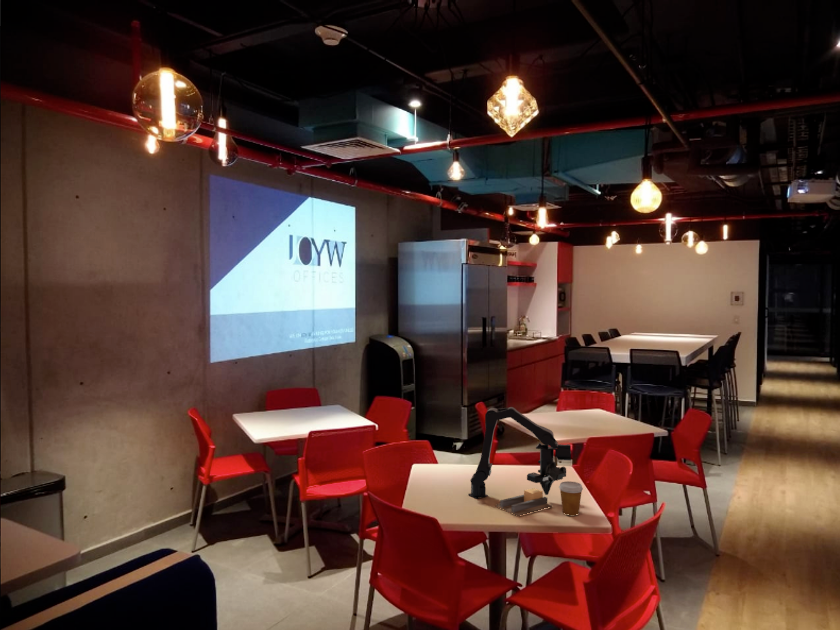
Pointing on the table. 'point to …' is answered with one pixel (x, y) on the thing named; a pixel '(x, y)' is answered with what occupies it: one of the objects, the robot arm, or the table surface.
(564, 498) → the disposable coffee cup
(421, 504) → the table surface
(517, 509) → the chute
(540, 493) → the block
